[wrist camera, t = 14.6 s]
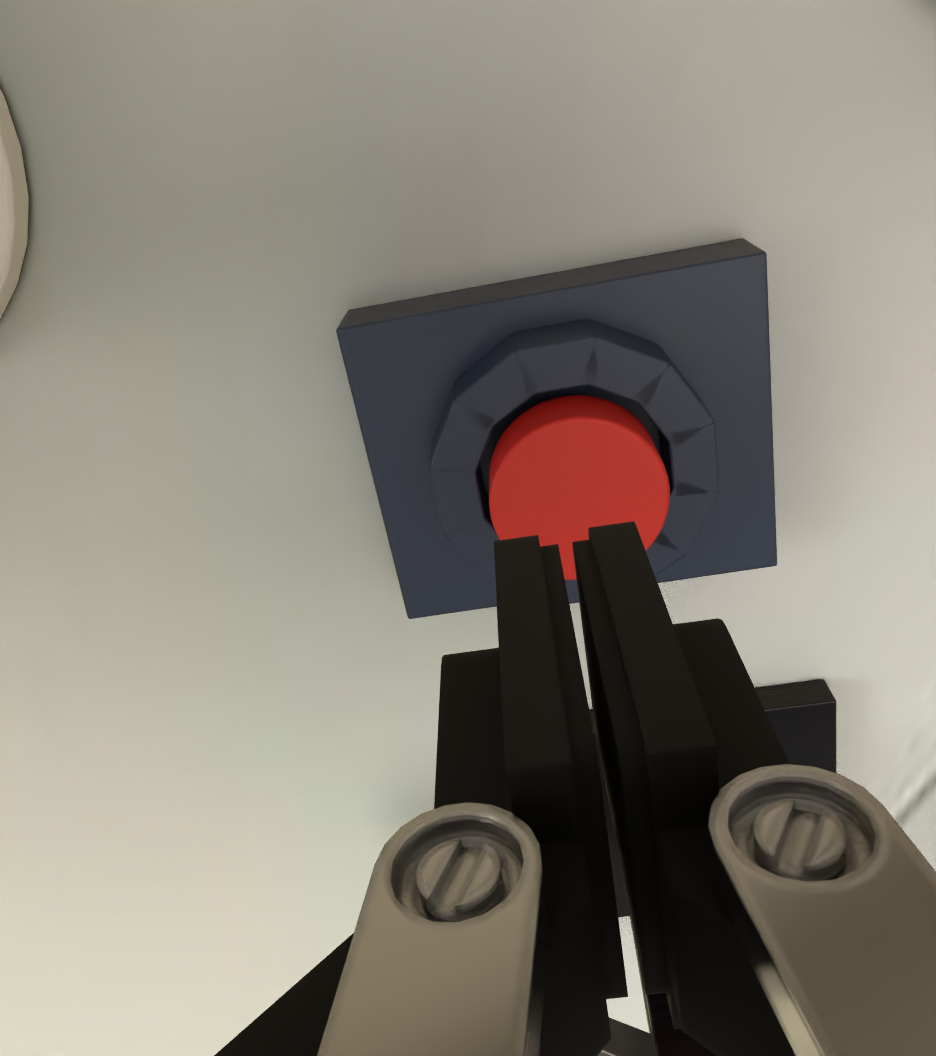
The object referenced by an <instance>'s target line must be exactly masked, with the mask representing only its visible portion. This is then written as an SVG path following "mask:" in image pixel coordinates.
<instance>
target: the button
mask: <svg viewBox="0 0 936 1056" xmlns="http://www.w3.org/2000/svg"><path fill="white" fill-rule="evenodd" d="M669 502H670V486H669V480H668V475H667V472H666V469H665V466H664V464H663V462H662V460H661V457H660V455H659V453H658V451H657V448H656V446H655V444H654V442H653V440H652V438H651V436H650V434H649V432H648V431H647V429H646V428H645V427H644V425H643V424H642V423H641V422H640V421H639V420H638V419H637V418H636V417H635V416H634V415H633V414H632V413H630V412H629V411H628V410H626V409H625V408H623V407H621V406H620V405H618V404H616V403H614V402H611V401H609V400H606V399H602V398H599V397H594V396H587V395H569V396H561V397H557V398H553V399H549V400H547V401H544V402H541V403H539V404H537V405H535V406H533V407H531V408H529V409H528V410H527V411H525V412H524V413H522V414H521V415H520V416H518V417H517V418H516V419H515V420H514V421H513V422H512V423H511V424H510V425H509V426H508V427H507V429H506V430H505V431H504V433H503V434H502V436H501V437H500V439H499V441H498V443H497V445H496V447H495V449H494V452H493V455H492V458H491V463H490V469H489V508H490V516H491V520H492V523H493V526H494V529H495V531H496V533H497V536H498V537H499V539H500V540H505V539H512V538H519V537H526V536H533V535H539V542H540V546H547V545H554V544H558V546H559V552H560V557H561V562H562V568H563V573H564V579H565V580H577V579H576V571H575V563H574V554H573V545H572V542H575V541H582V540H589V535H588V528H589V527H596V526H603V525H610V524H617V523H624V522H631V521H634V522H635V524H636V526H637V529H638V531H639V534H640V537H641V540H642V542H643V545H644V548H645V550H647V549H648V548H649V547H650V546H651V544H652V543H653V542H654V541H655V539H656V538H657V536H658V534H659V533H660V531H661V529H662V527H663V525H664V522H665V520H666V517H667V513H668V509H669Z"/></svg>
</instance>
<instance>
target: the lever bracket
mask: <svg viewBox="0 0 936 1056" xmlns="http://www.w3.org/2000/svg"><path fill="white" fill-rule="evenodd" d="M755 690H756V692H757V694H758V697H759V699H760V701H761V703H762V705H763V707H764V710H765V712H766V714H767V716H768V718H769V720H770V722H771V725H772V727H773V729H774V731H775V733H776V735H777V738H778V740H779V742H780V744H781V746H782V748H783V751H784V753H785V755H786V757H787V759H788V761H789V764H792V765H802V766H813V767H817V768H820V769H824V770H827V771H830V772H833V773H836V700H835V698H834V696H833V695H832V693H831V691H830V689H829V687H828V686H827V684H826V682H825V680H817V681H809V682H802V683H794V684H787V685H779V686H772V687H764V688H756V689H755ZM589 713H590V718H591V723H592V729H593V734H594V740H595V745H596V751H597V758H598V764H599V771H600V778H601V785H602V793H603V801H604V809H605V817H606V825H607V833H608V841H609V849H610V857H611V865H612V873H613V881H614V889H615V897H616V905H617V913H618V917H624V916H630V912H629V907H628V901H627V896H626V891H625V886H624V880H623V875H622V870H621V864H620V859H619V854H618V849H617V843H616V838H615V833H614V828H613V822H612V817H611V812H610V806H609V801H608V796H607V791H606V785H605V780H604V775H603V770H602V764H601V759H600V754H599V748H598V743H597V736H596V730H595V723H594V715H593V710H590V711H589ZM630 919H631V917H630ZM631 925H632V922H631ZM632 931H633V928H632ZM633 937H634V933H633ZM634 943H635V938H634ZM635 949H636V943H635ZM636 955H637V961H638V967H639V973H640V979H641V985H642V991H643V997H644V1003H645V1009H646V1015H647V1021H648V1027H649V1033H650V1034H652V1037H653V1043H654V1049H655V1055H656V1056H717V1055H715V1054H714V1053H712V1052H711V1051H710V1050H708V1049H707V1048H705V1047H704V1046H702V1045H701V1044H700V1043H698V1042H697V1041H695V1040H694V1039H692V1038H691V1037H690V1036H688V1035H687V1034H685V1033H684V1032H682V1029H674V1027H673V1022H672V1018H671V1013H670V1008H669V1004H668V999H667V994H666V993H660V994H650V995H646V994H645V990H644V985H643V980H642V975H641V970H640V965H639V959H638V954H637V949H636Z"/></svg>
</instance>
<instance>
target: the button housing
mask: <svg viewBox="0 0 936 1056" xmlns="http://www.w3.org/2000/svg"><path fill="white" fill-rule="evenodd" d="M336 332H337V336H338V340H339V344H340V348H341V352H342V356H343V360H344V364H345V368H346V372H347V376H348V380H349V384H350V388H351V392H352V396H353V400H354V404H355V408H356V412H357V416H358V420H359V424H360V428H361V432H362V436H363V440H364V444H365V448H366V452H367V456H368V460H369V464H370V468H371V472H372V476H373V480H374V484H375V488H376V492H377V496H378V500H379V504H380V508H381V512H382V516H383V520H384V524H385V528H386V532H387V536H388V540H389V544H390V548H391V552H392V556H393V560H394V564H395V568H396V572H397V576H398V580H399V584H400V588H401V592H402V596H403V600H404V604H405V608H406V612H407V616H408V618H409V619H413V618H419V617H426V616H433V615H440V614H447V613H454V612H461V611H468V610H475V609H481V608H488V607H495V606H497V597H496V577H495V557H494V541H498V540H500V539H499V537H498V536H497V533H496V531H495V529H494V526H493V523H492V520H491V516H490V508H489V469H490V463H491V458H492V455H493V452H494V449H495V447H496V445H497V443H498V441H499V439H500V437H501V436H502V434H503V433H504V431H505V430H506V429H507V427H508V426H509V425H510V424H511V423H512V422H513V421H514V420H515V419H516V418H517V417H518V416H520V415H521V414H522V413H524V412H525V411H527V410H528V409H529V408H531V407H533V406H535V405H537V404H539V403H541V402H544V401H547V400H549V399H553V398H557V397H561V396H569V395H587V396H594V397H599V398H602V399H606V400H609V401H611V402H614V403H616V404H618V405H620V406H621V407H623V408H625V409H626V410H628V411H629V412H630V413H632V414H633V415H634V416H635V417H636V418H637V419H638V420H639V421H640V422H641V423H642V424H643V425H644V427H645V428H646V429H647V431H648V432H649V434H650V436H651V438H652V440H653V442H654V444H655V446H656V448H657V451H658V453H659V455H660V457H661V460H662V462H663V464H664V466H665V469H666V472H667V475H668V480H669V486H670V502H669V509H668V513H667V517H666V520H665V522H664V525H663V527H662V529H661V531H660V533H659V534H658V536H657V538H656V539H655V541H654V542H653V543H652V544H651V546H650V547H649V548H648V549H647V550H646V553H647V556H648V559H649V561H650V564H651V567H652V569H653V572H654V575H655V578H656V580H657V583H660V582H667V581H674V580H681V579H688V578H695V577H702V576H709V575H716V574H722V573H729V572H736V571H743V570H750V569H757V568H764V567H771V566H776V565H777V547H776V518H775V489H774V460H773V431H772V402H771V373H770V344H769V315H768V287H767V258H766V253H765V252H764V251H762V250H761V249H759V248H758V247H756V246H755V245H753V244H751V243H750V242H748V241H747V240H745V239H738V240H732V241H727V242H721V243H716V244H710V245H705V246H699V247H694V248H688V249H682V250H677V251H671V252H666V253H660V254H655V255H649V256H644V257H638V258H633V259H627V260H622V261H616V262H611V263H605V264H600V265H594V266H589V267H583V268H578V269H572V270H567V271H561V272H556V273H550V274H545V275H539V276H534V277H528V278H523V279H517V280H512V281H506V282H501V283H495V284H490V285H484V286H479V287H473V288H468V289H462V290H457V291H451V292H446V293H440V294H435V295H429V296H424V297H418V298H412V299H407V300H401V301H396V302H390V303H385V304H379V305H374V306H368V307H363V308H357V309H352V310H349V311H347V313H346V315H345V316H344V318H343V320H342V321H341V323H340V325H339V326H338V328H337V330H336ZM565 584H566V589H567V595H568V600H569V604H571V603H578V602H579V595H578V587H577V580H565Z"/></svg>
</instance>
